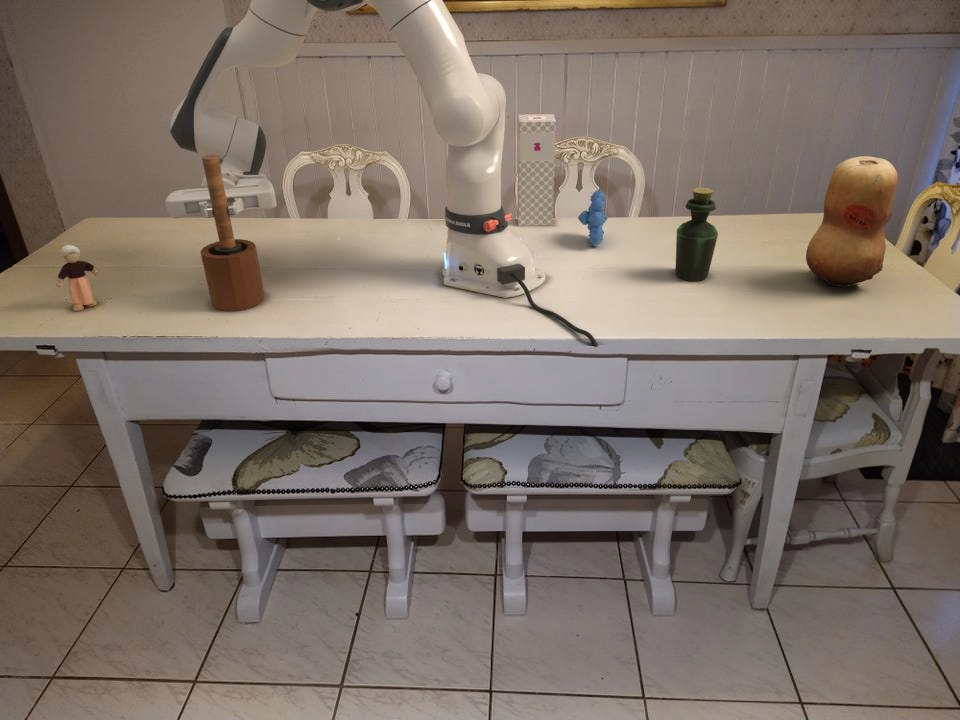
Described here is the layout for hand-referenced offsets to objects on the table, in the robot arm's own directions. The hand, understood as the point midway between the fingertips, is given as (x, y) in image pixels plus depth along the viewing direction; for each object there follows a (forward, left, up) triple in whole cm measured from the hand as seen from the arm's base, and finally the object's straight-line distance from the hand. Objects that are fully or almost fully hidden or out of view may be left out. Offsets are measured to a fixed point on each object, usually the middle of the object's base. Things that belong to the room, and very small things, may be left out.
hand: (220, 212), depth 135 cm
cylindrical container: (+1, 0, -18) cm, 18 cm away
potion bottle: (-64, -66, -19) cm, 94 cm away
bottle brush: (+1, -1, -14) cm, 14 cm away
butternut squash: (-89, -80, -19) cm, 122 cm away
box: (-17, -75, -19) cm, 80 cm away
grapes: (-37, -70, -19) cm, 82 cm away
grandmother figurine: (+23, +20, -19) cm, 35 cm away
